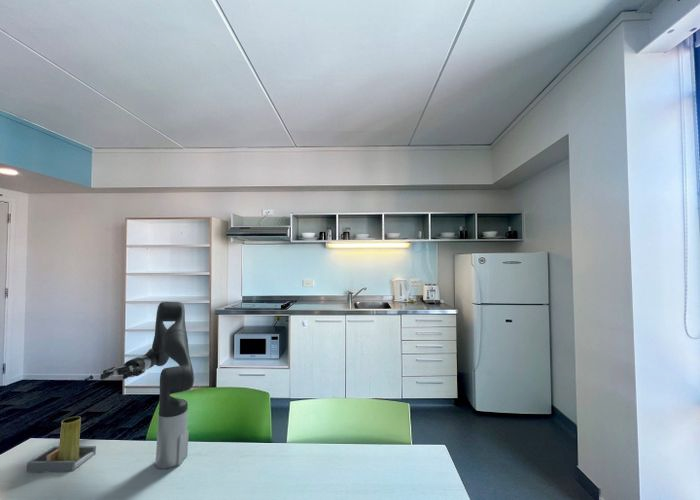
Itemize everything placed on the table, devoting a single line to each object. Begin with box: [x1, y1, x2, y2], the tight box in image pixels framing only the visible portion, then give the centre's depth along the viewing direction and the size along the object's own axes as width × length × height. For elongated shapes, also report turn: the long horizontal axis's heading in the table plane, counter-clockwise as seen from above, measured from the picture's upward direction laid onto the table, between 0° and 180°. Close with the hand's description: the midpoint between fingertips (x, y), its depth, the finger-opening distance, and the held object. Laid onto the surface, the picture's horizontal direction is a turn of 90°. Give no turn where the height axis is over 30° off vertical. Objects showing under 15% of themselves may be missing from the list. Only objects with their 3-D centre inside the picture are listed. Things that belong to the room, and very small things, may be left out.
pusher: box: [46, 448, 59, 461], centre depth 108 cm, size 1×7×4 cm, turn 2°
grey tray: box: [25, 445, 97, 473], centre depth 108 cm, size 15×10×3 cm, turn 93°
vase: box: [57, 415, 82, 461], centre depth 109 cm, size 6×6×14 cm
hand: (112, 376), depth 123 cm, fingers open, 8 cm apart
